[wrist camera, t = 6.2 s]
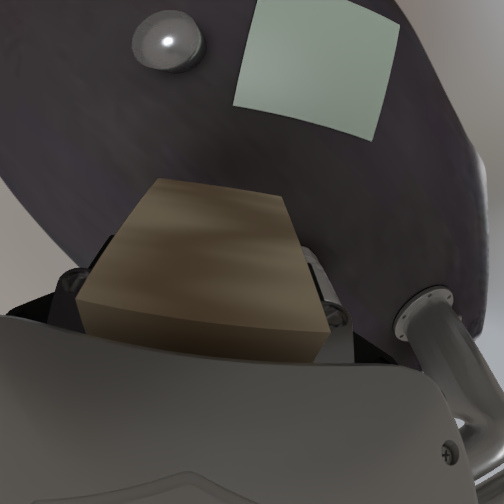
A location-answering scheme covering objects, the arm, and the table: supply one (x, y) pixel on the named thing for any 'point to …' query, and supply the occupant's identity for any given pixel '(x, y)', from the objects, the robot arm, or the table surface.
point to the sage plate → (318, 63)
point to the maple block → (206, 278)
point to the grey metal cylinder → (169, 42)
